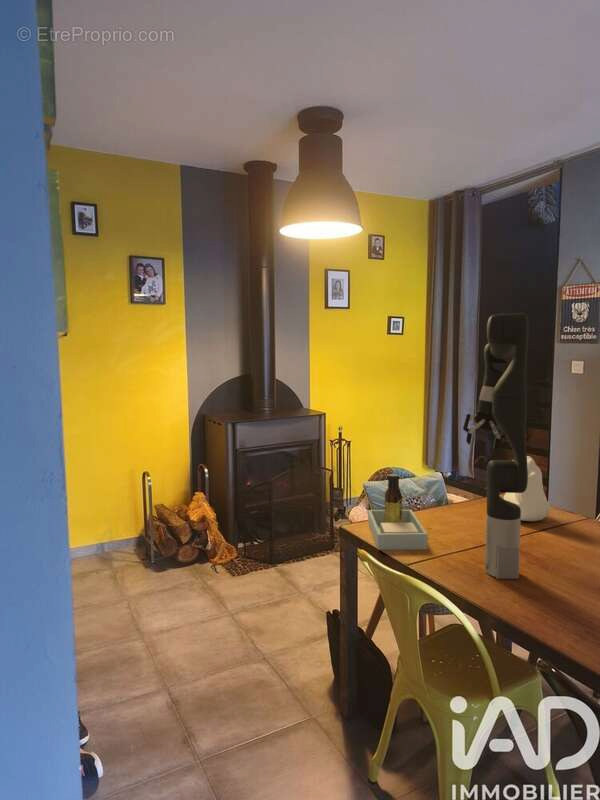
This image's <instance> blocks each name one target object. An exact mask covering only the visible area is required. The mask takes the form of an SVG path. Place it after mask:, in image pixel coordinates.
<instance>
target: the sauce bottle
mask: <svg viewBox="0 0 600 800" xmlns="http://www.w3.org/2000/svg"><path fill="white" fill-rule="evenodd" d="M403 509H404V508H403V494H402V492H401V489H400V475H399V474H398V473H390V474H387V489H386V491H385V493H384V510H385V523H402V513H403V511H402V510H403Z"/></svg>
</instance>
